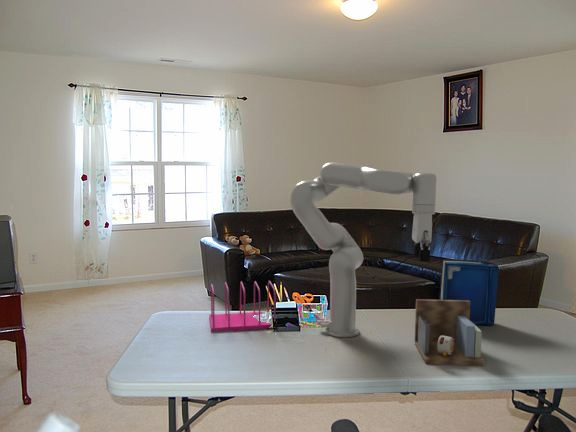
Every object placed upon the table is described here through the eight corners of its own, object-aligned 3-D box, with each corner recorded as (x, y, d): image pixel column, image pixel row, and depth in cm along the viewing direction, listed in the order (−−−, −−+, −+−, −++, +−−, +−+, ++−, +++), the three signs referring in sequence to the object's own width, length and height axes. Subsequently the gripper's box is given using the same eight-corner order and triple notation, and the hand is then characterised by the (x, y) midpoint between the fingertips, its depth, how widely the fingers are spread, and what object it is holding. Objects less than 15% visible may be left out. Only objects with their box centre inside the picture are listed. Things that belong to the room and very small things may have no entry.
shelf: (425, 363, 155) (427, 314, 154) (414, 344, 173) (415, 299, 171) (483, 365, 154) (486, 315, 153) (467, 345, 172) (469, 300, 170)
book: (492, 321, 199) (495, 260, 197) (498, 327, 192) (501, 263, 190) (437, 319, 201) (439, 258, 199) (440, 324, 194) (443, 262, 192)
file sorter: (277, 329, 188) (277, 288, 187) (211, 332, 183) (210, 291, 182) (270, 315, 205) (270, 278, 204) (209, 318, 200) (208, 280, 199)
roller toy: (455, 352, 161) (456, 335, 160) (449, 358, 156) (450, 340, 155) (442, 349, 163) (442, 332, 163) (435, 355, 158) (436, 338, 158)
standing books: (465, 356, 157) (466, 326, 156) (455, 344, 168) (457, 315, 167) (480, 357, 157) (481, 326, 156) (469, 344, 168) (471, 316, 167)
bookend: (424, 355, 158) (425, 325, 157) (417, 343, 169) (418, 314, 168) (428, 355, 158) (429, 325, 157) (421, 343, 169) (422, 315, 168)
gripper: (407, 207, 177) (406, 254, 179) (417, 211, 160) (415, 263, 162) (429, 207, 177) (427, 254, 178) (440, 211, 159) (438, 264, 161)
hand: (421, 258), depth 170 cm, fingers open, 9 cm apart
